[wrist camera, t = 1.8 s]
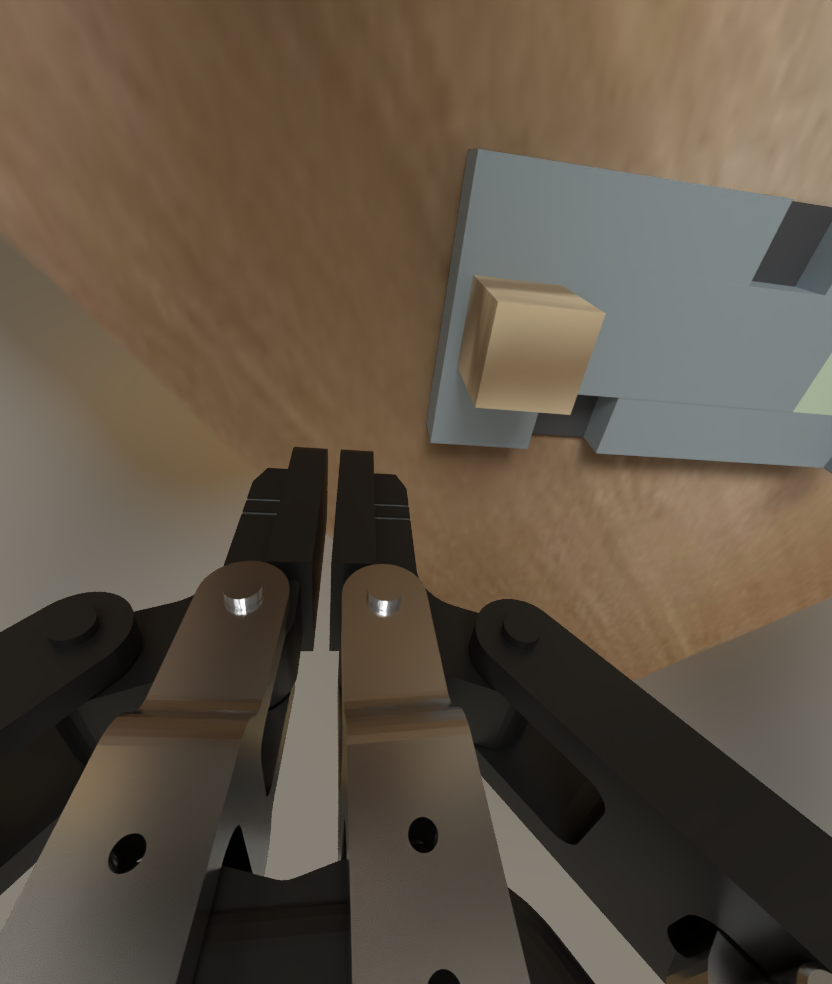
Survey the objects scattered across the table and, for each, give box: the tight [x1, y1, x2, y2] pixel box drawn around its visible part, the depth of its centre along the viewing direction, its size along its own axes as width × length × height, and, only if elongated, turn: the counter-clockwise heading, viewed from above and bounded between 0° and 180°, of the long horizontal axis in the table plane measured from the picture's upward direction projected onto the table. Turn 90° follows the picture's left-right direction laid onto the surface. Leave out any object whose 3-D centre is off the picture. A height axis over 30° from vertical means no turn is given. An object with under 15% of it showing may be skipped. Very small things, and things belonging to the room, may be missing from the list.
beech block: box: [457, 275, 606, 415], centre depth 21 cm, size 4×4×5 cm
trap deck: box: [426, 149, 832, 473], centre depth 25 cm, size 14×28×5 cm, turn 83°
